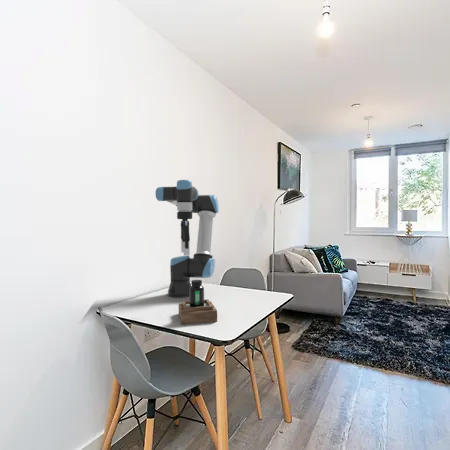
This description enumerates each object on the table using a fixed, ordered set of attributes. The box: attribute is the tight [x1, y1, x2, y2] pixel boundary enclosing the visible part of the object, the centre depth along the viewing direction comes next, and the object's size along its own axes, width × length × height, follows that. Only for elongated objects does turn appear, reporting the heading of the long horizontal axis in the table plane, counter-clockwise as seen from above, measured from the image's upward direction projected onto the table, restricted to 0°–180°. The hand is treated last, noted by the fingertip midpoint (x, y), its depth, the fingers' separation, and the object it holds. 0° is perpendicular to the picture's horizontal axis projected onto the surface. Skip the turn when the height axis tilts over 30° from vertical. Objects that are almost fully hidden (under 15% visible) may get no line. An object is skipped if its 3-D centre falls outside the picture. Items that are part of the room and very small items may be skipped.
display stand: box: [178, 299, 218, 326], centre depth 148 cm, size 16×16×6 cm
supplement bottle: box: [188, 279, 205, 307], centre depth 148 cm, size 7×7×12 cm
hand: (185, 253), depth 158 cm, fingers open, 13 cm apart
